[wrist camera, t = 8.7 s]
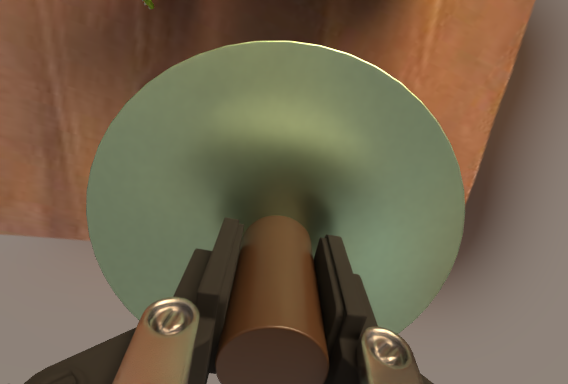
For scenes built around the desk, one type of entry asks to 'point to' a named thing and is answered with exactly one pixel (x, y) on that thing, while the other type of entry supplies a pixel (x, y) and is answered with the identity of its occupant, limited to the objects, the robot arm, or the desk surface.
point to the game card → (149, 4)
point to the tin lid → (277, 195)
